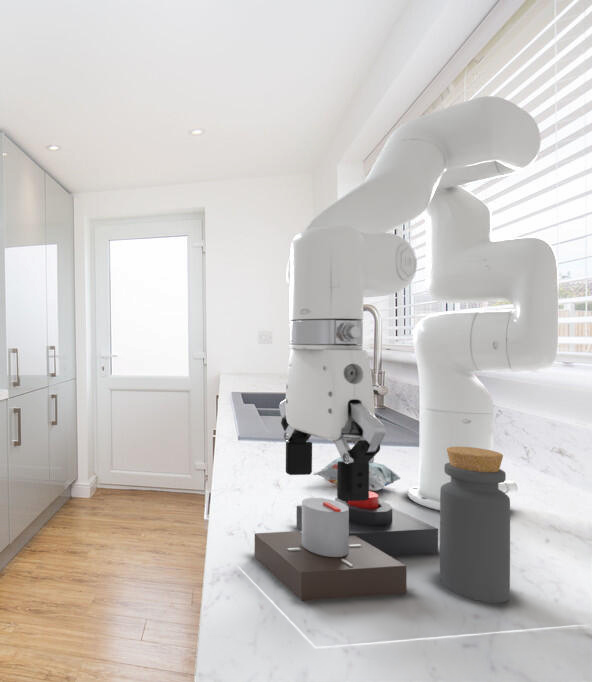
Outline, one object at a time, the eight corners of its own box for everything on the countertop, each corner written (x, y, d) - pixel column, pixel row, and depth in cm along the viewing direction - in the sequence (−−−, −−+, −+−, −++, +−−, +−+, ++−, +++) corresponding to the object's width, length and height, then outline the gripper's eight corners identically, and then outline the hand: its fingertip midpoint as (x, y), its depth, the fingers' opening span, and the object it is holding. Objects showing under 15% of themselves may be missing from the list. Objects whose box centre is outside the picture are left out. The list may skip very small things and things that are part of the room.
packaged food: (384, 500, 80) (384, 471, 80) (312, 484, 89) (312, 457, 89) (401, 490, 85) (401, 463, 85) (331, 476, 94) (331, 451, 94)
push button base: (378, 523, 70) (379, 489, 70) (438, 554, 60) (438, 514, 60) (296, 527, 68) (296, 493, 68) (343, 559, 58) (343, 519, 58)
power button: (365, 501, 66) (365, 488, 66) (385, 510, 62) (385, 496, 62) (341, 502, 66) (341, 489, 66) (360, 511, 62) (360, 498, 62)
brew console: (343, 552, 60) (343, 527, 60) (406, 593, 51) (406, 564, 50) (254, 557, 59) (254, 531, 59) (301, 601, 49) (301, 570, 49)
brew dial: (293, 540, 57) (293, 495, 57) (330, 538, 57) (330, 494, 57) (318, 558, 52) (318, 510, 52) (358, 556, 53) (358, 508, 53)
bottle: (426, 576, 54) (426, 445, 54) (473, 574, 55) (474, 444, 55) (473, 605, 48) (473, 458, 48) (525, 602, 49) (526, 457, 49)
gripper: (416, 336, 46) (414, 511, 46) (310, 338, 64) (308, 465, 64) (345, 335, 46) (344, 514, 45) (257, 337, 63) (255, 467, 63)
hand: (323, 485), depth 54 cm, fingers open, 9 cm apart
